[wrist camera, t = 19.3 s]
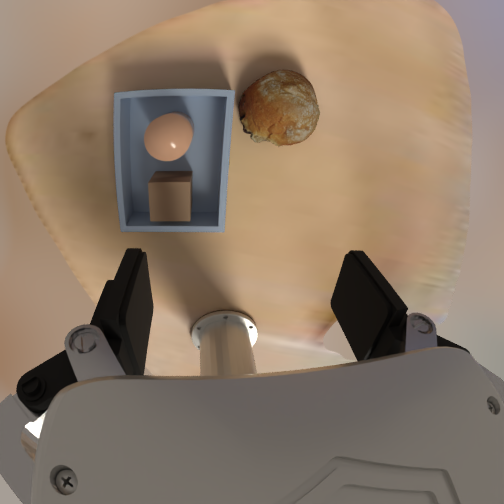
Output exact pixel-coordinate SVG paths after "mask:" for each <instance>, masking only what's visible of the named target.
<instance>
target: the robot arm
mask: <svg viewBox="0 0 504 504" xmlns="http://www.w3.org/2000/svg"><path fill="white" fill-rule="evenodd" d="M331 308H332V310H333V312H334V314H335V316H336V318H337V320H338V322H339V324H340V326H341V328H342V330H343V332H344V334H345V336H346V338H347V340H348V342H349V344H350V346H351V348H352V350H353V353H354V355H355V357H356V359H357V362H351V363H345V364H339V365H332V366H325V367H318V368H310V369H302V370H293V371H283V372H272V373H259V374H257V371H256V366H255V360H254V355H253V350H252V346H253V345H254V343H255V342H256V340H257V336H258V332H257V327H256V325H255V323H254V322H253V320H252V319H251V318H249V317H248V316H246V315H244V314H242V313H239V312H235V311H217V312H213V313H210V314H207V315H205V316H203V317H202V318H200V319H199V320H198V321H197V322H196V323H195V324H194V326H193V328H192V335H191V336H192V342H193V344H194V345H195V347H196V348H197V349H198V350H200V375H201V376H148V375H144V369H145V362H146V354H147V347H148V340H149V334H150V328H151V321H152V316H153V299H152V293H151V286H150V279H149V271H148V263H147V255H146V252H142V250H141V248H128V249H127V250H126V252H125V254H124V257H123V259H122V261H121V264H120V266H119V268H118V271H117V273H116V276H115V278H114V280H108V281H107V282H106V284H105V287H104V289H103V291H102V294H101V296H100V299H99V302H98V304H97V307H96V309H95V312H94V315H93V317H92V320H91V323H90V324H89V325H81V326H77V327H76V328H74V329H72V330H71V331H70V332H69V333H68V335H67V336H66V338H65V349H66V350H64V351H62V352H61V353H59V354H57V355H55V356H54V357H52V358H50V359H49V360H47V361H45V362H44V363H42V364H40V365H39V366H37V367H35V368H34V369H32V370H30V371H29V372H27V373H25V374H24V375H23V376H22V377H21V378H20V380H19V381H18V384H17V390H16V392H17V393H16V394H15V395H14V396H12V395H11V394H10V395H9V396H7V397H6V398H5V400H3V401H2V402H1V403H0V474H1V475H2V477H3V478H4V480H5V481H6V482H7V484H8V485H9V486H10V488H11V489H12V490H13V492H14V493H15V494H16V496H17V497H18V498H19V499H20V501H21V502H22V503H23V504H504V382H503V380H502V379H501V378H499V377H498V376H496V375H495V374H493V373H492V372H490V371H489V370H488V369H486V368H485V367H483V366H482V365H480V364H479V363H478V362H477V361H476V360H475V359H474V358H473V357H472V356H471V354H470V352H469V351H468V350H467V349H465V348H463V347H461V346H459V345H457V344H455V343H453V342H450V341H449V340H446V339H444V338H442V337H440V336H438V335H437V334H436V327H435V324H434V323H433V321H432V320H431V319H430V318H429V317H427V316H426V315H423V314H421V313H411V314H409V315H407V314H406V312H407V310H408V308H407V306H406V305H405V303H404V302H403V301H402V299H401V298H400V297H399V296H398V294H397V293H396V292H395V290H394V289H393V288H392V286H391V285H390V284H389V283H388V281H387V280H386V279H385V277H384V276H383V275H382V274H381V272H380V271H379V270H378V269H377V267H376V266H375V265H374V264H373V262H372V261H371V260H370V259H369V258H368V256H367V255H366V254H365V253H364V252H363V251H353V250H351V251H350V252H349V253H348V254H346V255H345V257H344V261H343V264H342V267H341V271H340V274H339V277H338V280H337V283H336V286H335V289H334V293H333V296H332V299H331ZM73 471H74V472H73ZM69 476H70V477H69Z"/></svg>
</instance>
